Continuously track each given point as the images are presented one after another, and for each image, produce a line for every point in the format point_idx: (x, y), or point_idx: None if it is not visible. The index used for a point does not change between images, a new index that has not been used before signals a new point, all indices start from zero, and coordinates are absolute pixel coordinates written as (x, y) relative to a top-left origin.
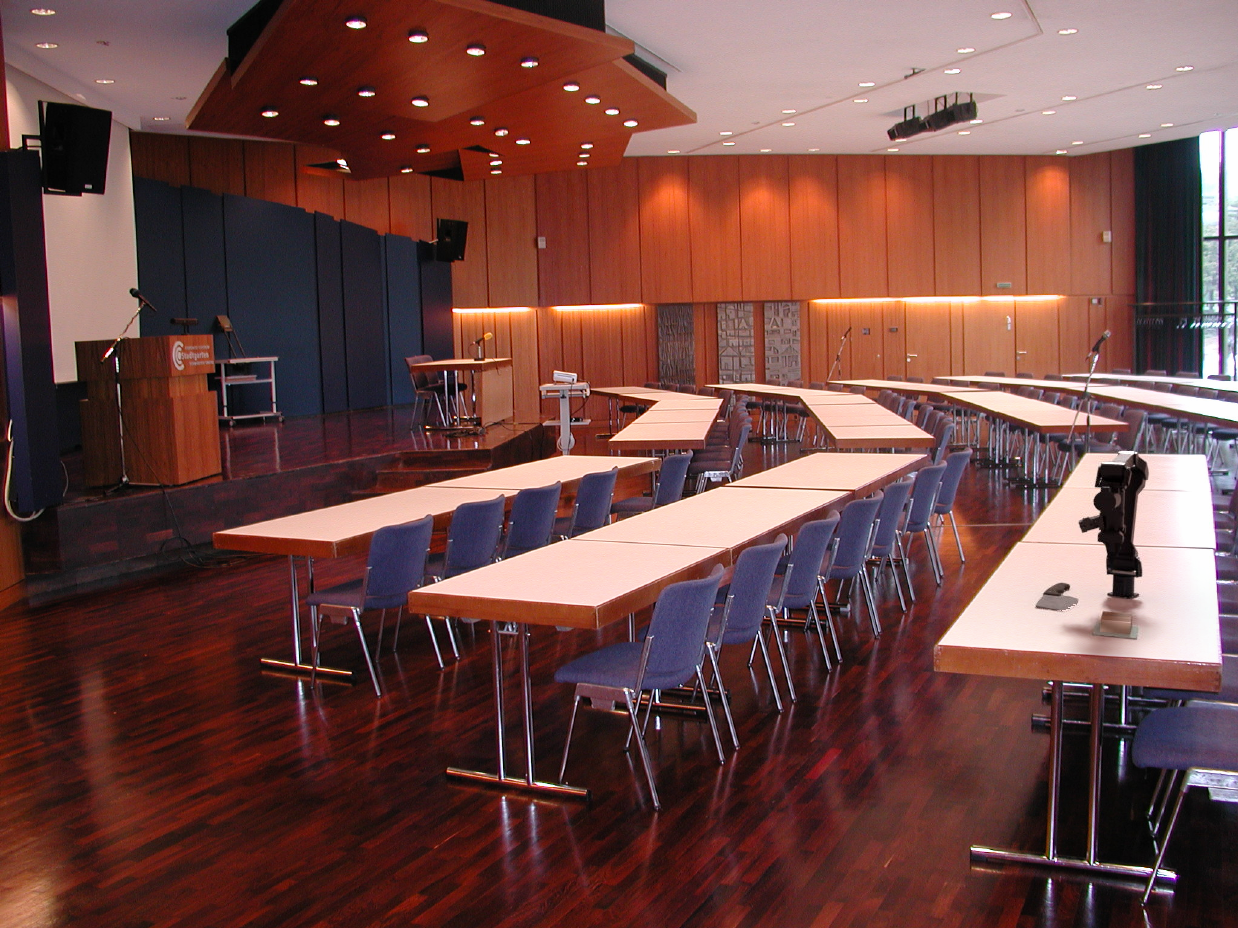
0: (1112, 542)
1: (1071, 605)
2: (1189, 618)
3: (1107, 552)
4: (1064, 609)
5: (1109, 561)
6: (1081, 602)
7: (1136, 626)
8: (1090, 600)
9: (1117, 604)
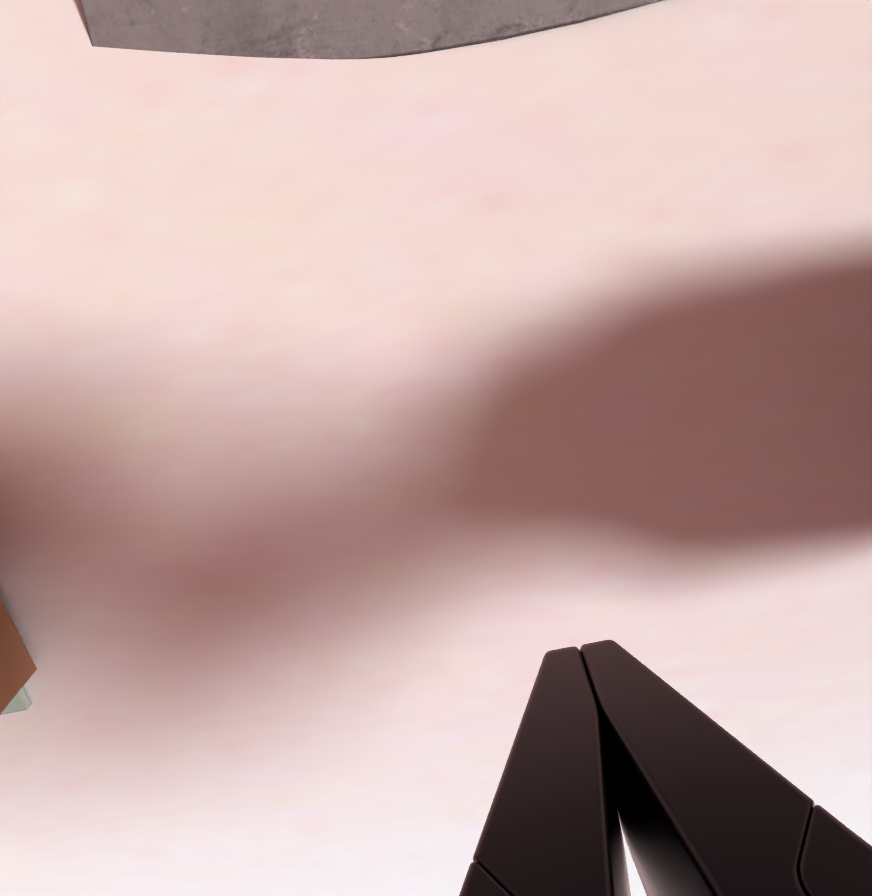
0: None
1: (385, 17)
2: None
3: (474, 861)
4: (156, 12)
5: (544, 680)
6: (618, 61)
7: (14, 701)
8: (763, 118)
9: (707, 395)
